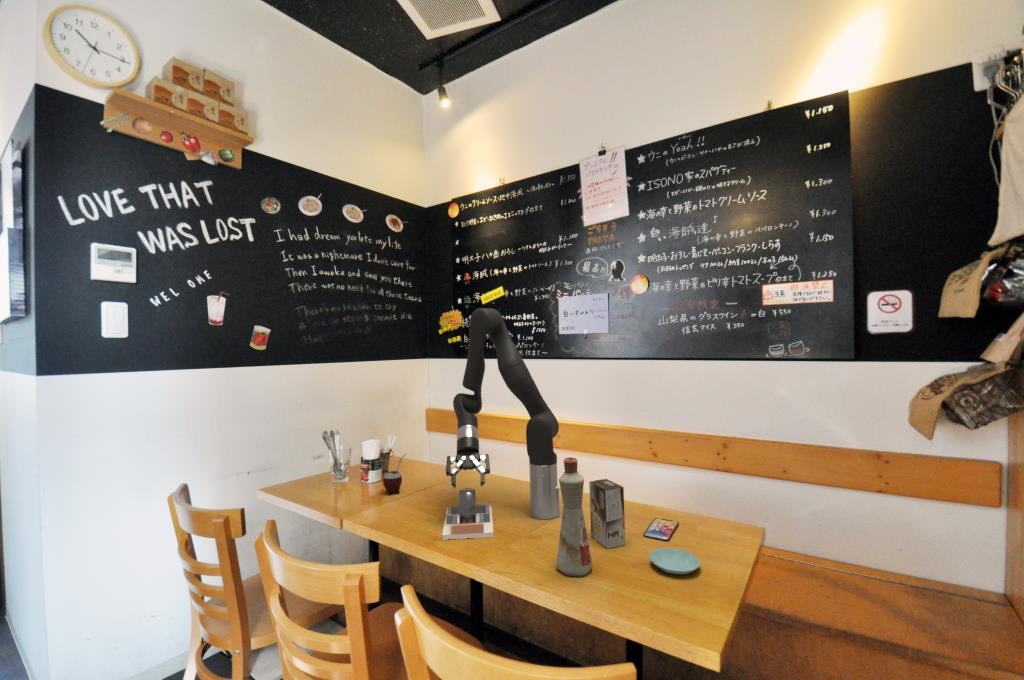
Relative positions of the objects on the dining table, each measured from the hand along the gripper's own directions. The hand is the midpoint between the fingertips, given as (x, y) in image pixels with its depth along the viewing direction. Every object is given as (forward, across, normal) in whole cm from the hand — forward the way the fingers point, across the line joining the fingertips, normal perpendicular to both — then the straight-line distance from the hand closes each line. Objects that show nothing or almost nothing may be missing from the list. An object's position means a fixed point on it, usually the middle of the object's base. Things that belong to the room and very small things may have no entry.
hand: (468, 485), depth 139 cm
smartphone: (+17, +58, +2) cm, 60 cm away
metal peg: (+11, 0, +5) cm, 12 cm away
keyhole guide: (+8, 0, +10) cm, 13 cm away
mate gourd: (-17, -30, +35) cm, 49 cm away
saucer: (+33, +52, -13) cm, 62 cm away
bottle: (+31, +27, -12) cm, 42 cm away
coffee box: (+20, +40, -1) cm, 45 cm away
